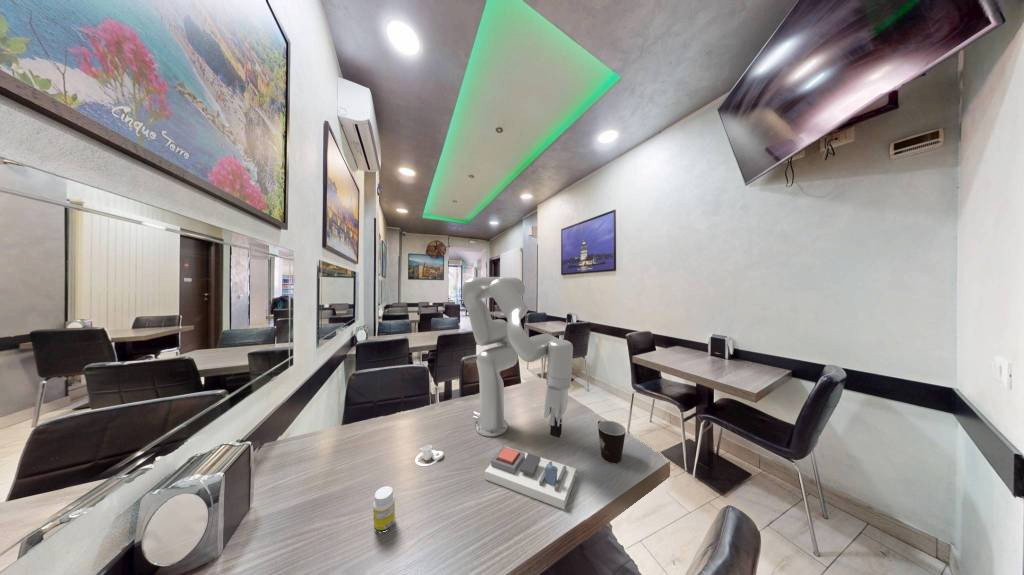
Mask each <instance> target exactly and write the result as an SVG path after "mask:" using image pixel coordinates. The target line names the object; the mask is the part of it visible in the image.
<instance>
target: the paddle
mask: <svg viewBox="0 0 1024 575" xmlns="http://www.w3.org/2000/svg"><path fill="white" fill-rule="evenodd" d="M557 471H558V468H557V467H555V466H552V465H549V464H547V465H546V467H545V482H547V483H550V484H552V485H555V484H556V482H557Z"/></svg>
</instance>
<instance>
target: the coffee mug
mask: <svg viewBox="0 0 1024 575" xmlns="http://www.w3.org/2000/svg"><path fill="white" fill-rule="evenodd" d="M597 428H598V429H597V430H598V437H599V438H598V439H599V447H600V448H599V449H600V456H601V458H602V459H603V461H605V462H607V463H610V464H619V463H621V461H622V459H623V458H622V457H623V453H624V452H623V451H624V445H625V436H626V431H627V430H626V427H624V425H622V424H621V423H619V422H617V421H614V420H599V421H597Z"/></svg>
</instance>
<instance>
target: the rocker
mask: <svg viewBox="0 0 1024 575" xmlns="http://www.w3.org/2000/svg"><path fill="white" fill-rule="evenodd" d="M527 453H528V455H527V457H526V459H525V461H524V463H523V465H522V466H521V468H520V470H521V472H522V473H525V474H528V475H531V476H534V474H535V472H536V470H537V467H538V465H539V463H540V461H541V458H542V457H541V456H538V455H536V454H532V453H529V452H527ZM540 457H541V458H540Z"/></svg>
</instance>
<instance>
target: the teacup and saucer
mask: <svg viewBox="0 0 1024 575" xmlns="http://www.w3.org/2000/svg"><path fill="white" fill-rule="evenodd" d="M421 451H422V452H421ZM418 452H419V453H418V454H417V456H416V457H415V458H414V462H415V464H416V465H417V466H419V467H429V466H433V465H435V464H436V463H438V462H439V460H441V459H442V458H443V457H444V452H443V451H441V450H435V449H433V446H432V444H425V445H424V446H422V447H420V448H419V450H418ZM420 457H422V458H423V460H424V461H425V462H426V461H430V460H431V459H432V460H433V461H432V462H429V463H422V462H420V461H419V462H418V460H420ZM418 458H419V459H418Z"/></svg>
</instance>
